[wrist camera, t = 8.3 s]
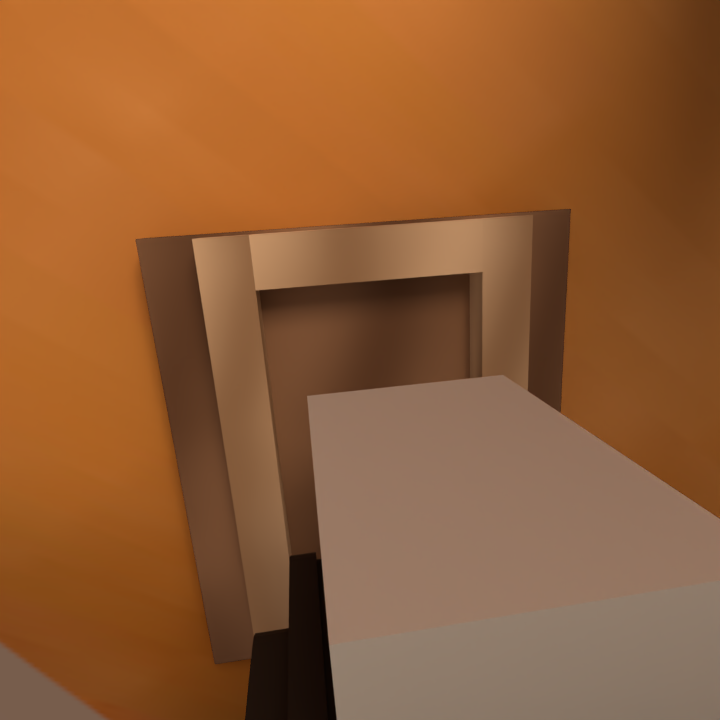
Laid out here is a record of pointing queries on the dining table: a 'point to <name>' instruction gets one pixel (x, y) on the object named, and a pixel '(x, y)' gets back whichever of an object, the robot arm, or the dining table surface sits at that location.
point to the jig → (327, 365)
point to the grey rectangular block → (506, 563)
